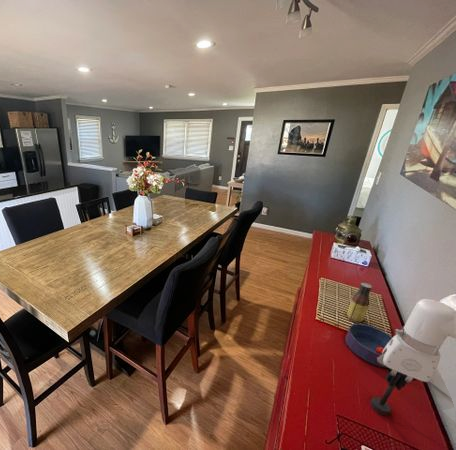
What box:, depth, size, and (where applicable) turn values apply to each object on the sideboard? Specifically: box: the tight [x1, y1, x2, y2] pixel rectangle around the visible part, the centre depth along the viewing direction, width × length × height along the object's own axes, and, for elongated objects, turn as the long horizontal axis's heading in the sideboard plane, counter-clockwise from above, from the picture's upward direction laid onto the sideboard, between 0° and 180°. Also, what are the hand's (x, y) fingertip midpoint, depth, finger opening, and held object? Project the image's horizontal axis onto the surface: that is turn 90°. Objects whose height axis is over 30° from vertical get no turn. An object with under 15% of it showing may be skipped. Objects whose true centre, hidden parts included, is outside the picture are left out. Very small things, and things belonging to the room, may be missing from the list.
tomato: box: [376, 347, 384, 355], centre depth 97 cm, size 3×3×3 cm
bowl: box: [344, 323, 393, 369], centre depth 99 cm, size 17×17×6 cm
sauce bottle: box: [346, 282, 373, 323], centre depth 113 cm, size 7×6×20 cm
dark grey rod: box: [369, 371, 402, 416], centre depth 76 cm, size 5×5×17 cm
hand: (393, 383), depth 75 cm, fingers closed on dark grey rod, 1 cm apart
